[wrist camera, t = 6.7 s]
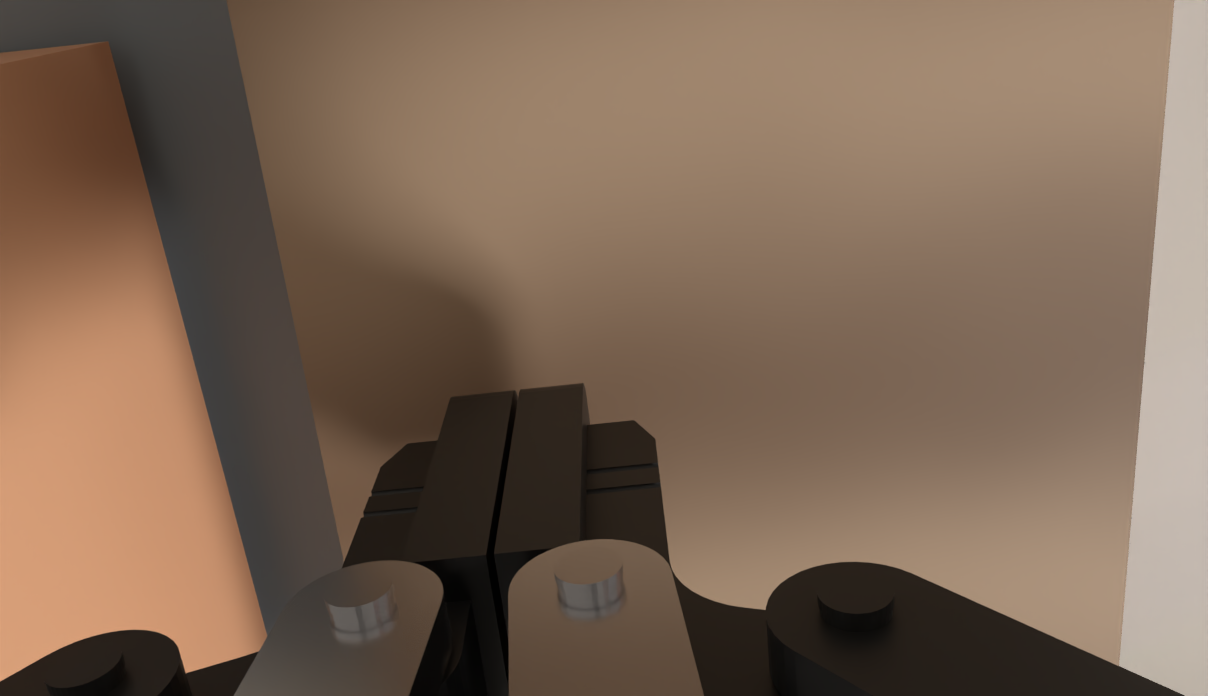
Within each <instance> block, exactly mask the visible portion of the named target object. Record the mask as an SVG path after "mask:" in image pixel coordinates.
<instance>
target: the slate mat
mask: <svg viewBox="0 0 1208 696" xmlns="http://www.w3.org/2000/svg"><path fill="white" fill-rule="evenodd" d="M106 41H108V42H109V46H110V50H111V53H112V57H113V61H114V64H115V68H116V72H117V76H118V79H119V83H120V87H121V91H122V94H123V98H124V102H125V106H126V109H127V113H128V117H129V121H130V124H131V128H132V132H133V136H134V139H135V143H136V147H137V150H138V154H139V158H140V162H141V165H142V169H143V173H144V177H145V180H146V184H147V188H148V192H149V195H150V199H151V203H152V207H153V210H154V214H155V218H156V222H157V225H158V229H159V233H160V236H161V240H162V244H163V248H164V251H165V255H166V259H167V263H168V266H169V270H170V274H171V278H172V281H173V285H174V289H175V293H176V296H177V300H178V304H179V308H180V311H181V315H182V319H183V322H184V326H185V330H186V334H187V337H188V341H189V345H190V349H191V352H192V356H193V360H194V364H195V367H196V371H197V375H198V379H199V382H200V386H201V390H202V394H203V397H204V401H205V405H206V409H207V412H208V416H209V420H210V423H211V427H212V431H213V435H214V438H215V442H216V446H217V450H218V453H219V457H220V461H221V465H222V468H223V472H224V476H225V480H226V483H227V487H228V491H229V495H230V498H231V502H232V506H233V509H234V513H235V517H236V521H237V524H238V528H239V532H240V536H241V539H242V543H243V547H244V551H245V554H246V558H247V562H248V566H249V569H250V573H251V577H252V581H253V584H254V588H255V592H256V595H257V599H258V603H259V607H260V610H261V614H262V618H263V622H264V625H265V629H266V633H267V636H268V634H269V633H270V631H271V629H272V627H273V626H274V624H275V622H276V620H277V619H278V617H279V615H280V613H281V612H282V610H283V608H284V607H285V606H286V604H287V603H288V601H289V600H290V599H291V598H292V597H293V596H294V595H295V594H296V593H297V592H299V591H300V590H301V589H303V588H304V587H305V586H307V585H308V584H310V583H311V582H313V581H315V580H316V579H318V578H320V577H322V576H325V575H327V574H329V573H331V572H334V571H336V570H339V569H341V568H342V566H343V563H344V560H343V555H342V550H341V546H340V541H339V536H338V531H337V527H336V522H335V517H334V512H333V507H332V503H331V498H330V493H329V488H328V484H327V479H326V474H325V469H324V464H323V460H322V455H321V450H320V445H319V441H318V436H317V431H316V426H315V421H314V417H313V412H312V407H311V402H310V398H309V393H308V388H307V383H306V378H305V374H304V369H303V364H302V359H301V355H300V350H299V345H298V340H297V335H296V331H295V326H294V321H293V316H292V312H291V307H290V302H289V297H288V292H287V288H286V283H285V278H284V273H283V269H282V264H281V259H280V254H279V249H278V245H277V240H276V235H275V230H274V226H273V221H272V216H271V211H270V206H269V202H268V197H267V192H266V187H265V183H264V178H263V173H262V168H261V163H260V159H259V154H258V149H257V144H256V140H255V135H254V130H253V125H252V121H251V116H250V111H249V106H248V101H247V97H246V92H245V87H244V82H243V78H242V73H241V68H240V63H239V58H238V54H237V49H236V44H235V39H234V35H233V30H232V25H231V20H230V15H229V11H228V6H227V1H226V0H0V53H3V52H13V51H22V50H32V49H41V48H50V47H60V46H69V45H78V44H88V43H97V42H106Z"/></svg>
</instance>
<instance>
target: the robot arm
mask: <svg viewBox="0 0 1208 696" xmlns="http://www.w3.org/2000/svg"><path fill="white" fill-rule="evenodd" d="M363 515H364V517H362V518H361V519H360V522H359V524H358V527H357V530H356V532H355V535H354V537H353V540H352V543H351V545H350V548H349V550H348V553H347V555H346V558H345V561H344V563H343V566H342V568H341V569H339V570H336V571H334V572H331V573H329V574H327V575H325V576H322V577H320V578H318V579H316V580H315V581H313V582H311V583H310V584H308V585H307V586H305V587H304V588H303V589H301V590H300V591H299V592H297V593H296V594H295V595H294V596H293V597H292V598H291V599H290V600H289V601H288V603H287V604H286V606H285V607H284V608H283V610H282V612H281V613H280V615H279V617H278V619H277V620H276V622H275V624H274V626H273V627H272V629H271V631H270V633H269V634H268V636H267V638H266V640H265V641H264V643H263V645H262V647H261V649H260V650H259V651H258V652H255V653H252V654H249V655H246V656H243V657H240V658H236V659H233V660H229V661H226V662H222V663H219V664H216V665H212V666H209V667H205V668H202V669H199V670H195V671H192V672H188V673H186V672H185V669H184V665H183V662H182V659H181V655H180V652H179V648H178V646H177V645H176V643H175V642H174V641H173V640H172V639H170V638H169V637H168V636H166V635H163V634H161V633H158V632H154V631H148V630H121V631H115V632H108V633H104V634H100V635H96V636H92V637H89V638H86V639H83V640H80V641H77V642H74V643H72V644H69V645H67V646H65V647H62V648H60V649H58V650H56V651H54V652H52V653H50V654H48V655H46V656H45V657H43V658H41V659H39V660H37V661H36V662H34V663H32V664H30V665H29V666H27V667H25V668H23V669H22V670H20V671H18V672H16V673H14V674H13V675H11V676H9V677H7V678H6V679H4V680H2V681H0V696H1184V695H1182V694H1180V693H1178V692H1175V691H1173V690H1171V689H1169V688H1166V687H1164V686H1162V685H1160V684H1157V683H1155V682H1153V681H1151V680H1149V679H1146V678H1144V677H1142V676H1140V675H1137V674H1135V673H1133V672H1131V671H1128V670H1126V669H1124V668H1122V667H1120V666H1117V665H1115V664H1113V663H1111V662H1108V661H1106V660H1104V659H1102V658H1100V657H1097V656H1095V655H1093V654H1091V653H1088V652H1086V651H1084V650H1082V649H1079V648H1077V647H1075V646H1073V645H1071V644H1068V643H1066V642H1064V641H1062V640H1059V639H1057V638H1055V637H1053V636H1050V635H1048V634H1046V633H1044V632H1042V631H1039V630H1037V629H1035V628H1033V627H1030V626H1028V625H1026V624H1024V623H1021V622H1019V621H1017V620H1015V619H1013V618H1010V617H1008V616H1006V615H1004V614H1001V613H999V612H997V611H995V610H993V609H990V608H988V607H986V606H984V605H981V604H979V603H977V602H975V601H972V600H970V599H968V598H966V597H964V596H961V595H959V594H957V593H955V592H952V591H950V590H948V589H946V588H943V587H941V586H939V585H937V584H935V583H932V582H930V581H928V580H926V579H923V578H921V577H919V576H917V575H914V574H912V573H910V572H907V571H904V570H902V569H899V568H895V567H891V566H887V565H883V564H876V563H869V562H838V563H830V564H824V565H820V566H815V567H812V568H809V569H806V570H803V571H800V572H798V573H796V574H795V575H793V576H791V577H789V578H787V579H786V580H785V581H783V582H782V583H780V584H779V585H778V587H777V588H776V589H775V590H774V591H773V592H772V594H771V595H770V597H769V599H768V602H767V605H766V610H762V609H753V608H744V607H738V606H731V605H727V604H723V603H719V602H715V601H713V600H710V599H707V598H705V597H702V596H700V595H699V594H697V593H695V592H693V591H691V590H690V589H689V588H687V587H686V586H685V585H683V584H682V583H681V582H680V580H679V579H678V578H677V577H676V576H675V574H674V572H673V570H672V568H671V564H670V559H669V550H668V542H667V533H666V525H665V516H664V508H663V499H662V491H661V483H660V474H659V466H658V457H657V449H656V440H655V438H654V437H653V436H652V435H651V434H649V433H648V432H647V431H646V430H645V429H644V428H643V427H641V426H640V425H639V424H638V423H637V422H636V421H635V420H630V421H620V422H610V423H601V424H591V425H590V419H589V411H588V403H587V396H586V390H585V385H584V383H578V384H568V385H559V386H549V387H539V388H530V389H520V391H519V396H518V395H517V392H516V391H515V390H512V391H502V392H493V393H483V394H473V395H464V396H454V397H451V398H450V400H449V403H448V407H447V410H446V413H445V417H444V420H443V424H442V427H441V430H440V434H439V437H438V440H436V441H426V442H417V443H408V444H406V445H405V446H404V447H403V448H402V449H401V450H399V451H398V452H397V453H396V454H395V455H394V456H393V457H391V458H390V459H389V460H388V461H387V462H386V463H385V464H383V465H382V466H381V467H380V470H379V473H378V475H377V478H376V480H375V483H374V486H373V488H372V491H371V497H369V498H368V501H367V504H366V506H365V509H364V511H363Z"/></svg>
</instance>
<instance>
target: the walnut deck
mask: <svg viewBox="0 0 1208 696" xmlns="http://www.w3.org/2000/svg"><path fill="white" fill-rule="evenodd" d="M226 1H227V6H228V11H229V15H230V20H231V25H232V30H233V35H234V39H235V44H236V49H237V54H238V58H239V63H240V68H241V73H242V78H243V82H244V87H245V92H246V97H247V101H248V106H249V111H250V116H251V121H252V125H253V130H254V135H255V140H256V144H257V149H258V154H259V159H260V163H261V168H262V173H263V178H264V183H265V187H266V192H267V197H268V202H269V206H270V211H271V216H272V221H273V226H274V230H275V235H276V240H277V245H278V249H279V254H280V259H281V264H282V269H283V273H284V278H285V283H286V288H287V292H288V297H289V302H290V307H291V312H292V316H293V321H294V326H295V331H296V335H297V340H298V345H299V350H300V355H301V359H302V364H303V369H304V374H305V378H306V383H307V388H308V393H309V398H310V402H311V407H312V412H313V417H314V421H315V426H316V431H317V436H318V441H319V445H320V450H321V455H322V460H323V464H324V469H325V474H326V479H327V484H328V488H329V493H330V498H331V503H332V507H333V512H334V517H335V522H336V527H337V531H338V536H339V541H340V546H341V550H342V555H343V560H344V561H345V558H346V555H347V553H348V550H349V548H350V545H351V543H352V540H353V537H354V535H355V532H356V530H357V527H358V524H359V522H360V519H361V518H362V517H364V515H363V511H364V509H365V506H366V504H367V501H368V498H369V497H371V491H372V488H373V486H374V483H375V480H376V478H377V475H378V473H379V470H380V467H381V466H382V465H383V464H385V463H386V462H387V461H388V460H389V459H390V458H391V457H393V456H394V455H395V454H396V453H397V452H398V451H399V450H401V449H402V448H403V447H404V446H405V445H406V444H408V443H417V442H426V441H436V440H438V437H439V434H440V430H441V427H442V424H443V420H444V417H445V413H446V410H447V407H448V403H449V400H450V398H451V397H454V396H464V395H473V394H483V393H493V392H502V391H512V390H515V391H516V392H517V395H518V396H519V391H520V389H530V388H539V387H549V386H559V385H568V384H578V383H584V385H585V390H586V396H587V403H588V411H589V419H590V425H591V424H601V423H610V422H620V421H630V420H635V421H636V422H637V423H638V424H639V425H640V426H641V427H643V428H644V429H645V430H646V431H647V432H648V433H649V434H651V435H652V436H653V437H654V438H655V440H656V449H657V457H658V466H659V474H660V483H661V491H662V499H663V508H664V516H665V525H666V533H667V542H668V550H669V559H670V564H671V568H672V570H673V572H674V574H675V576H676V577H677V578H678V579H679V580H680V582H681V583H682V584H683V585H685V586H686V587H687V588H689V589H690V590H691V591H693V592H695V593H697V594H699V595H700V596H702V597H705V598H707V599H710V600H713V601H715V602H719V603H723V604H727V605H731V606H738V607H744V608H753V609H762V610H766V605H767V602H768V599H769V597H770V595H771V594H772V592H773V591H774V590H775V589H776V588H777V587H778V585H779V584H780V583H782V582H783V581H785V580H786V579H787V578H789V577H791V576H793V575H795V574H796V573H798V572H800V571H803V570H806V569H809V568H812V567H815V566H820V565H824V564H830V563H838V562H869V563H876V564H883V565H887V566H891V567H895V568H899V569H902V570H904V571H907V572H910V573H912V574H914V575H917V576H919V577H921V578H923V579H926V580H928V581H930V582H932V583H935V584H937V585H939V586H941V587H943V588H946V589H948V590H950V591H952V592H955V593H957V594H959V595H961V596H964V597H966V598H968V599H970V600H972V601H975V602H977V603H979V604H981V605H984V606H986V607H988V608H990V609H993V610H995V611H997V612H999V613H1001V614H1004V615H1006V616H1008V617H1010V618H1013V619H1015V620H1017V621H1019V622H1021V623H1024V624H1026V625H1028V626H1030V627H1033V628H1035V629H1037V630H1039V631H1042V632H1044V633H1046V634H1048V635H1050V636H1053V637H1055V638H1057V639H1059V640H1062V641H1064V642H1066V643H1068V644H1071V645H1073V646H1075V647H1077V648H1079V649H1082V650H1084V651H1086V652H1088V653H1091V654H1093V655H1095V656H1097V657H1100V658H1102V659H1104V660H1106V661H1108V662H1111V663H1113V664H1115V665H1117V666H1119V658H1120V646H1121V634H1122V622H1123V610H1124V598H1125V586H1126V574H1127V562H1128V550H1129V538H1130V526H1131V514H1132V502H1133V490H1134V478H1135V465H1136V453H1137V441H1138V429H1139V417H1140V405H1141V393H1142V381H1143V369H1144V357H1145V345H1146V333H1147V321H1148V309H1149V297H1150V285H1151V273H1152V261H1153V249H1154V237H1155V225H1156V213H1157V201H1158V189H1159V177H1160V165H1161V153H1162V141H1163V129H1164V117H1165V105H1166V93H1167V81H1168V69H1169V57H1170V45H1171V33H1172V21H1173V8H1174V0H226Z"/></svg>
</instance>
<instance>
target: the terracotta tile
mask: <svg viewBox="0 0 1208 696" xmlns="http://www.w3.org/2000/svg"><path fill="white" fill-rule="evenodd" d="M121 630H148V631H154V632H158V633H161V634H163V635H166V636H168V637H169V638H170V639H172V640H173V641H174V642H175V643H176V645H177V646H178V648H179V652H180V655H181V659H182V662H183V665H184V669H185V672H186V673H188V672H192V671H195V670H199V669H202V668H205V667H209V666H212V665H216V664H219V663H222V662H226V661H229V660H233V659H236V658H240V657H243V656H246V655H249V654H252V653H255V652H258V651H259V650H260V649H261V647H262V645H263V643H264V641H265V640H266V638H267V633H266V629H265V625H264V622H263V618H262V614H261V610H260V607H259V603H258V599H257V595H256V592H255V588H254V584H253V581H252V577H251V573H250V569H249V566H248V562H247V558H246V554H245V551H244V547H243V543H242V539H241V536H240V532H239V528H238V524H237V521H236V517H235V513H234V509H233V506H232V502H231V498H230V495H229V491H228V487H227V483H226V480H225V476H224V472H223V468H222V465H221V461H220V457H219V453H218V450H217V446H216V442H215V438H214V435H213V431H212V427H211V423H210V420H209V416H208V412H207V409H206V405H205V401H204V397H203V394H202V390H201V386H200V382H199V379H198V375H197V371H196V367H195V364H194V360H193V356H192V352H191V349H190V345H189V341H188V337H187V334H186V330H185V326H184V322H183V319H182V315H181V311H180V308H179V304H178V300H177V296H176V293H175V289H174V285H173V281H172V278H171V274H170V270H169V266H168V263H167V259H166V255H165V251H164V248H163V244H162V240H161V236H160V233H159V229H158V225H157V222H156V218H155V214H154V210H153V207H152V203H151V199H150V195H149V192H148V188H147V184H146V180H145V177H144V173H143V169H142V165H141V162H140V158H139V154H138V150H137V147H136V143H135V139H134V136H133V132H132V128H131V124H130V121H129V117H128V113H127V109H126V106H125V102H124V98H123V94H122V91H121V87H120V83H119V79H118V76H117V72H116V68H115V64H114V61H113V57H112V53H111V50H110V46H109V42H108V41H106V42H97V43H88V44H78V45H69V46H60V47H50V48H41V49H32V50H22V51H13V52H3V53H0V681H2V680H4V679H6V678H7V677H9V676H11V675H13V674H14V673H16V672H18V671H20V670H22V669H23V668H25V667H27V666H29V665H30V664H32V663H34V662H36V661H37V660H39V659H41V658H43V657H45V656H46V655H48V654H50V653H52V652H54V651H56V650H58V649H60V648H62V647H65V646H67V645H69V644H72V643H74V642H77V641H80V640H83V639H86V638H89V637H92V636H96V635H100V634H104V633H108V632H115V631H121Z"/></svg>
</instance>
